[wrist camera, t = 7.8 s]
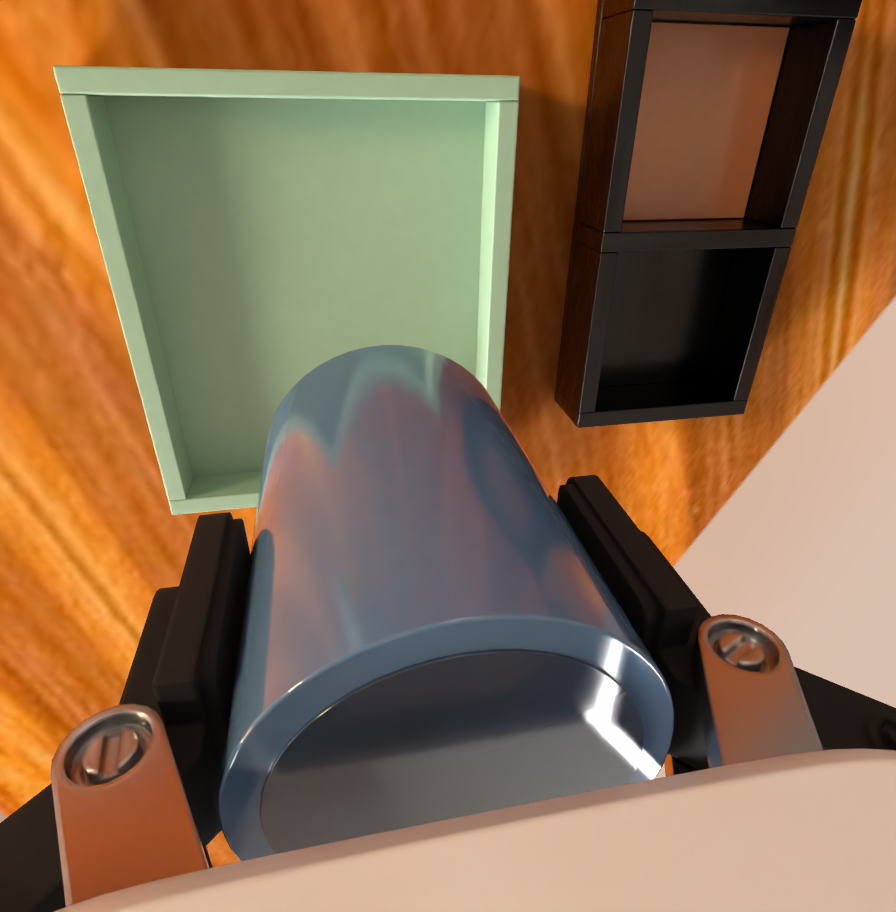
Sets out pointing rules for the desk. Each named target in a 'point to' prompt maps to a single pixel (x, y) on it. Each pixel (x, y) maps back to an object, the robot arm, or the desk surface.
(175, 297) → the tray
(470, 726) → the blue cup
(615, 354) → the black divided tray
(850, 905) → the robot arm
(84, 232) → the desk surface
